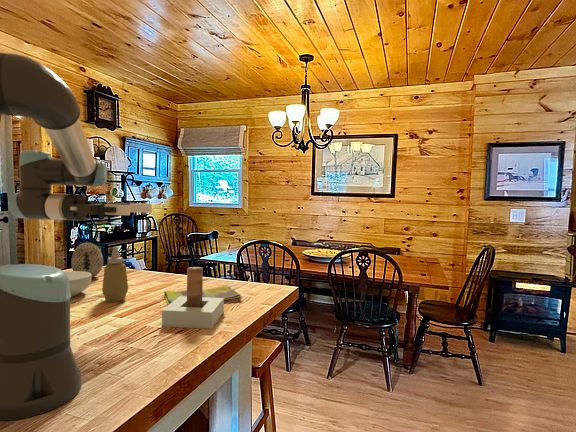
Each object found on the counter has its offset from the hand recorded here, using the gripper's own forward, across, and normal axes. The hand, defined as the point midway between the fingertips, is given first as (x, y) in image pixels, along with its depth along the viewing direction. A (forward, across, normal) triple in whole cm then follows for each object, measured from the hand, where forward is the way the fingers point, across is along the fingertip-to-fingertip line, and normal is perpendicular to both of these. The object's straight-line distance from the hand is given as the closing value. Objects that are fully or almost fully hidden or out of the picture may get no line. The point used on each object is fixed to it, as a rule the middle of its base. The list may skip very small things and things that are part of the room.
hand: (141, 209), depth 104 cm
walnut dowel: (+15, -3, -32) cm, 35 cm away
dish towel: (+11, -24, -33) cm, 42 cm away
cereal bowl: (-37, -21, -32) cm, 54 cm away
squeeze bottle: (-17, -18, -32) cm, 41 cm away
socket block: (+15, -3, -32) cm, 35 cm away
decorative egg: (-44, -46, -32) cm, 72 cm away
